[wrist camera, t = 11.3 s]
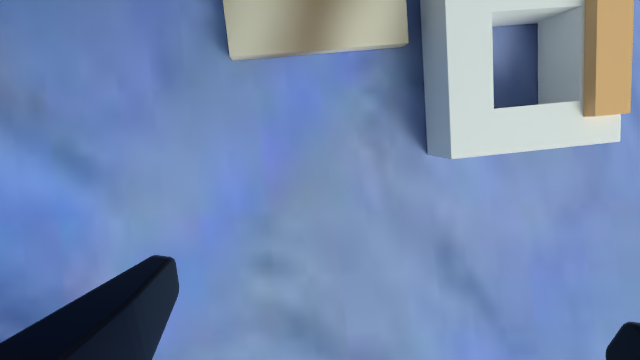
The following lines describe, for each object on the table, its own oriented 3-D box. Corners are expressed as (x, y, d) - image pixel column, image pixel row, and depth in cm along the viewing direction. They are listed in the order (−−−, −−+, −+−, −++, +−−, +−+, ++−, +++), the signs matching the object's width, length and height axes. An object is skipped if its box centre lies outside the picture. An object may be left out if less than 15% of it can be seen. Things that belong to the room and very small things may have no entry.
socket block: (427, 154, 21) (458, 160, 17) (419, -12, 19) (450, -44, 16) (574, 139, 22) (633, 141, 18) (575, -22, 20) (640, -55, 17)
